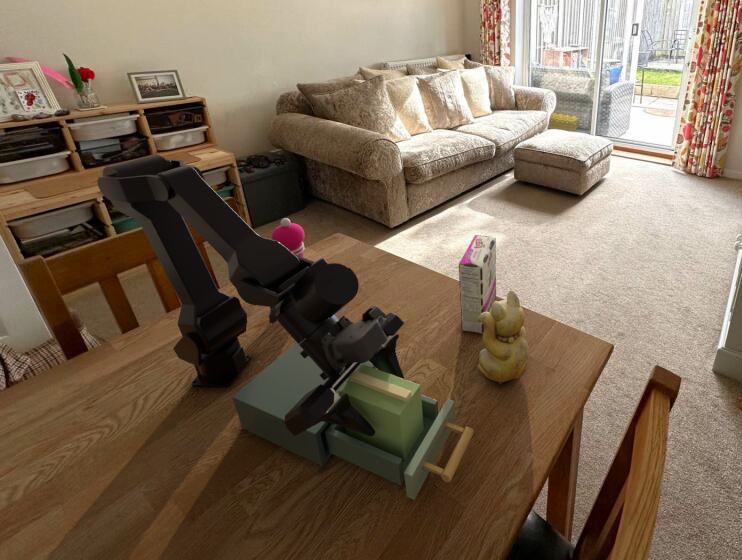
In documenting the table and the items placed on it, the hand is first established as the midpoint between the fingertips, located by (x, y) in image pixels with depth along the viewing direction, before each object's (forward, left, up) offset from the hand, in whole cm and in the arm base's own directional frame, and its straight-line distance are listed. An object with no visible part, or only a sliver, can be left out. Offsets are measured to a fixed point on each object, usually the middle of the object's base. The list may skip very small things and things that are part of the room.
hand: (390, 410), depth 57 cm
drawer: (+2, -1, -6) cm, 6 cm away
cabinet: (-14, +5, -7) cm, 17 cm away
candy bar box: (+10, +28, -7) cm, 31 cm away
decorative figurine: (+16, +14, -7) cm, 23 cm away
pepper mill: (-30, +32, -7) cm, 44 cm away
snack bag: (-1, 0, -5) cm, 5 cm away
